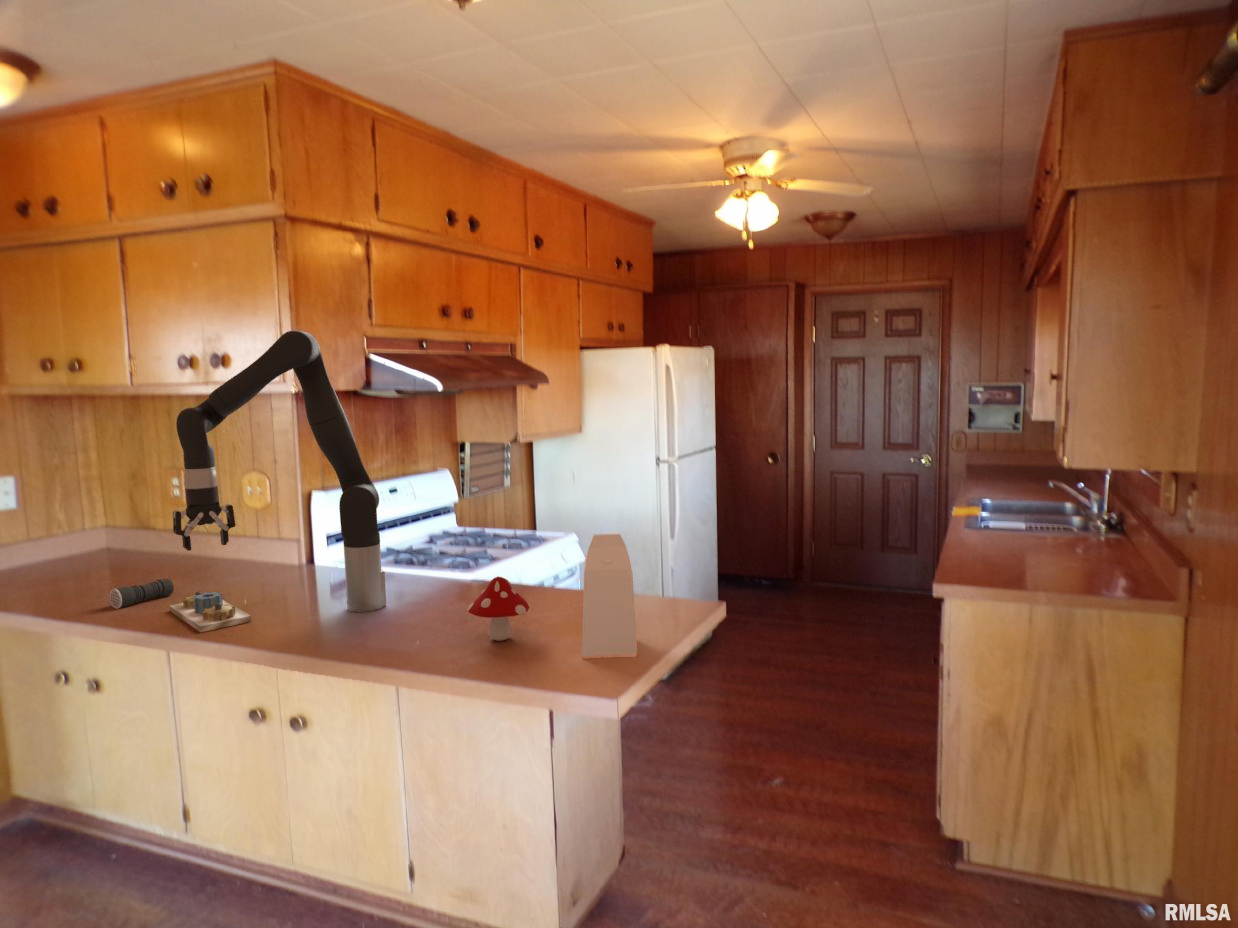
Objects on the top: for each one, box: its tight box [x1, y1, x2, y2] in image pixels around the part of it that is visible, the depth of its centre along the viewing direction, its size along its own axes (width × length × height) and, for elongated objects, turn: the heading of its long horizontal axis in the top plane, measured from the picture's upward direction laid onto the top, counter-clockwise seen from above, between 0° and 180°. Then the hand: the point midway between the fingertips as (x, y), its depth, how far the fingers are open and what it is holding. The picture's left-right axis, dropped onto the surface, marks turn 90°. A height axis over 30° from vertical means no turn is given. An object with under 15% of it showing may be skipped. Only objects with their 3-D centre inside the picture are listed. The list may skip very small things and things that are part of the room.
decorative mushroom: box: [467, 576, 530, 642], centre depth 189 cm, size 14×14×15 cm
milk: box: [581, 533, 638, 657], centre depth 181 cm, size 12×12×26 cm
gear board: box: [169, 590, 252, 633], centre depth 213 cm, size 12×26×5 cm, turn 43°
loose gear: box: [194, 591, 223, 614], centre depth 213 cm, size 7×7×4 cm
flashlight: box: [109, 578, 174, 610], centre depth 228 cm, size 15×5×5 cm, turn 150°
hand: (206, 547), depth 211 cm, fingers open, 8 cm apart
